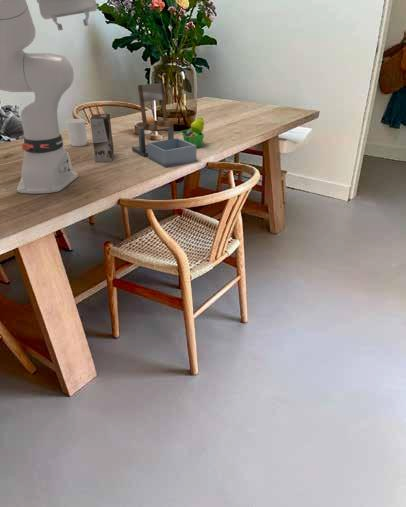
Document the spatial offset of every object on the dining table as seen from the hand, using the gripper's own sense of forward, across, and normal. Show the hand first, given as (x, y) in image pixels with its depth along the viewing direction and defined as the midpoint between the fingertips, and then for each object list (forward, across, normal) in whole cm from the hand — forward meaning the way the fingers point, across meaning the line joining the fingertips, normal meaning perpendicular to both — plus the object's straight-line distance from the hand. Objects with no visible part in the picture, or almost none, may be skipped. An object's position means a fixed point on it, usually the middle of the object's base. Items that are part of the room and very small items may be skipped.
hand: (73, 27), depth 155 cm
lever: (+40, +22, +2) cm, 45 cm away
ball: (+37, +20, +6) cm, 42 cm away
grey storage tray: (+53, +25, -5) cm, 59 cm away
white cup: (+39, -12, +23) cm, 47 cm away
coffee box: (+48, 0, +1) cm, 48 cm away
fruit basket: (+49, +37, +14) cm, 63 cm away
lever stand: (+48, +19, +8) cm, 52 cm away
